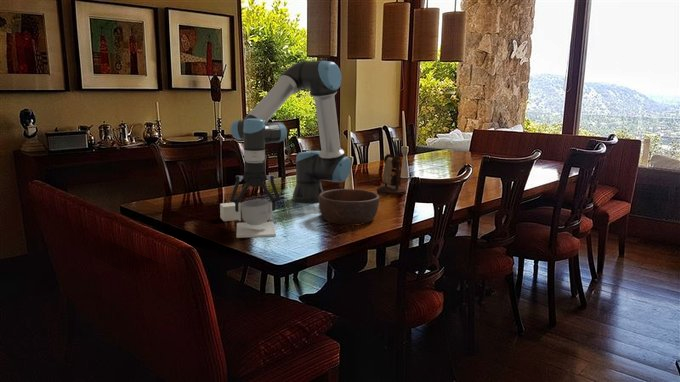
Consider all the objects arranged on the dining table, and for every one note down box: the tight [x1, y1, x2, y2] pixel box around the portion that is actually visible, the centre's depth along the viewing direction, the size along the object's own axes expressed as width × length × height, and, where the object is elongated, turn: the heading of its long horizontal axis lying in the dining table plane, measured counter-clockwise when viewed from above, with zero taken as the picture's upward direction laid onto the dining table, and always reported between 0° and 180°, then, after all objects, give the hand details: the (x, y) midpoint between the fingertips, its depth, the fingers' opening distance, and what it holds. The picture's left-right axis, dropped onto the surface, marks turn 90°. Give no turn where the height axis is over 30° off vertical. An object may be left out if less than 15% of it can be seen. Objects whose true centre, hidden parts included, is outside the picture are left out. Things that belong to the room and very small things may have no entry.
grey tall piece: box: [376, 153, 407, 196], centre depth 258 cm, size 15×15×20 cm
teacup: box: [240, 198, 271, 225], centre depth 192 cm, size 14×11×8 cm
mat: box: [236, 221, 277, 239], centre depth 194 cm, size 14×17×1 cm
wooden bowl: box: [318, 188, 380, 226], centre depth 211 cm, size 25×25×10 cm
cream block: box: [219, 202, 239, 222], centre depth 209 cm, size 6×6×6 cm
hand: (255, 219), depth 193 cm, fingers closed on teacup, 11 cm apart
